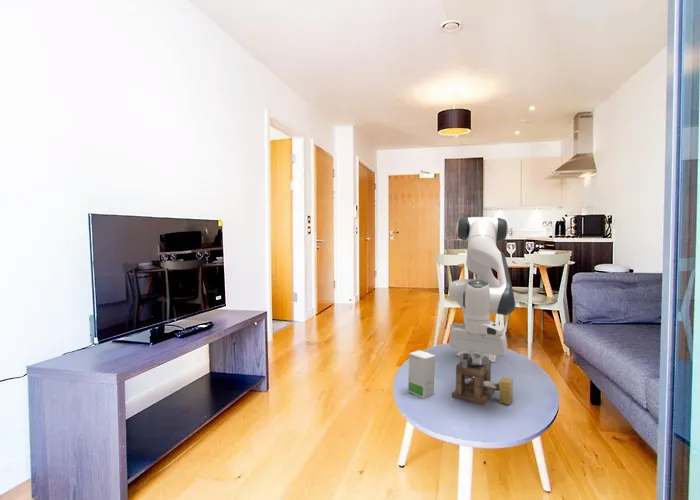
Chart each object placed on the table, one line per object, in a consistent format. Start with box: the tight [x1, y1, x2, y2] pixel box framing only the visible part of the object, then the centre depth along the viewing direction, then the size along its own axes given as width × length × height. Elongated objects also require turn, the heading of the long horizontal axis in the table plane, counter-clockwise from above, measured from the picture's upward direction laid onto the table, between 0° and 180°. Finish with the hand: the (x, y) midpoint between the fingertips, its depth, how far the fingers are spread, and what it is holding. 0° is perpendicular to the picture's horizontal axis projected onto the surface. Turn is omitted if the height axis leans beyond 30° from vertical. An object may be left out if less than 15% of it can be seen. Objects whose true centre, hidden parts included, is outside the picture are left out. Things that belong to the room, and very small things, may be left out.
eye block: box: [451, 360, 495, 406], centre depth 154 cm, size 14×12×12 cm
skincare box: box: [407, 349, 436, 399], centre depth 156 cm, size 8×7×16 cm
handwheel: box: [458, 353, 489, 368], centre depth 152 cm, size 16×11×6 cm
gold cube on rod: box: [465, 376, 514, 406], centre depth 152 cm, size 4×20×8 cm, turn 54°
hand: (477, 363), depth 146 cm, fingers closed
